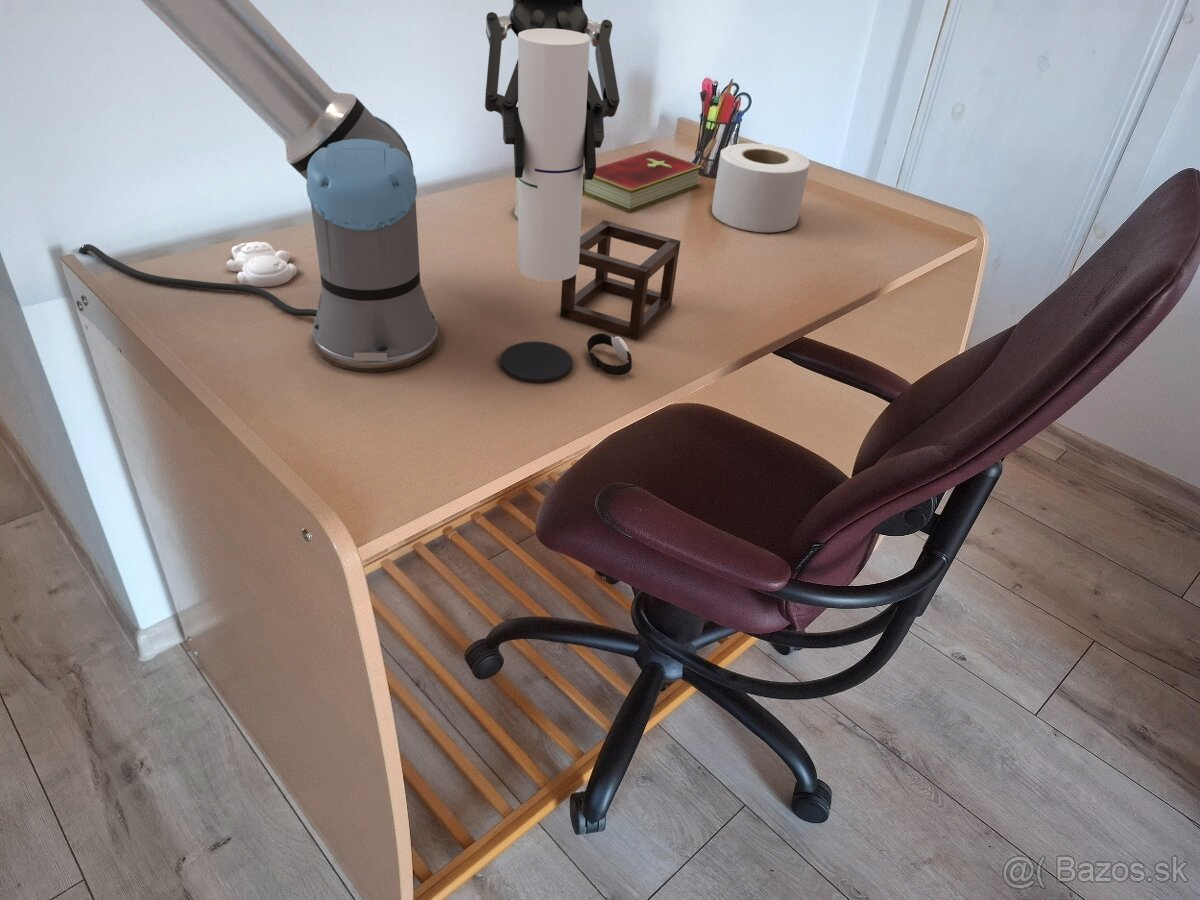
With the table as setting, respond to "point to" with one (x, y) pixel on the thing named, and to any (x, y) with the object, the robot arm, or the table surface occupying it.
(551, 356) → the coaster
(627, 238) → the rack
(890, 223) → the table surface
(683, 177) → the hardcover book
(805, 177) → the white paper roll
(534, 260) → the cylindrical container
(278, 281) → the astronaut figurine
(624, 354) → the watch
